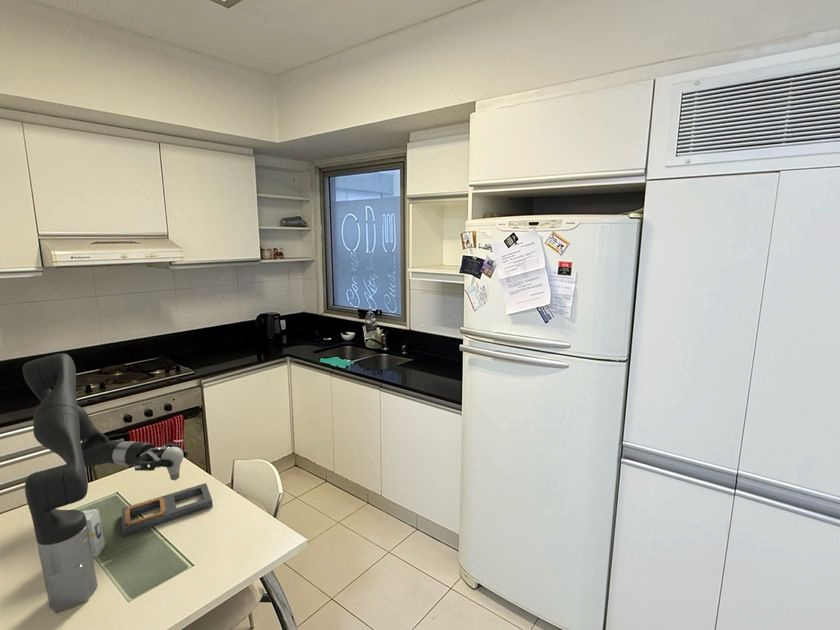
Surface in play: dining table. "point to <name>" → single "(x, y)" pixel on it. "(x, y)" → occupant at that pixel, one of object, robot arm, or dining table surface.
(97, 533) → the ink box
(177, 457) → the lightbulb
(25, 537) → the dining table surface
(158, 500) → the rail
